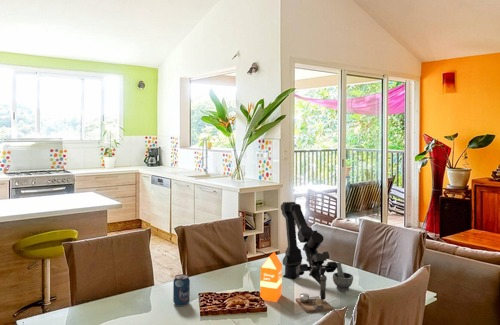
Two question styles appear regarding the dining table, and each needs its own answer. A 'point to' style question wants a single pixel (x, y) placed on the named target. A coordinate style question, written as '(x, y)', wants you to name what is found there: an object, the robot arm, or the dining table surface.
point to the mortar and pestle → (342, 279)
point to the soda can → (181, 290)
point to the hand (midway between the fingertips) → (322, 285)
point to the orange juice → (271, 279)
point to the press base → (315, 305)
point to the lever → (323, 278)
